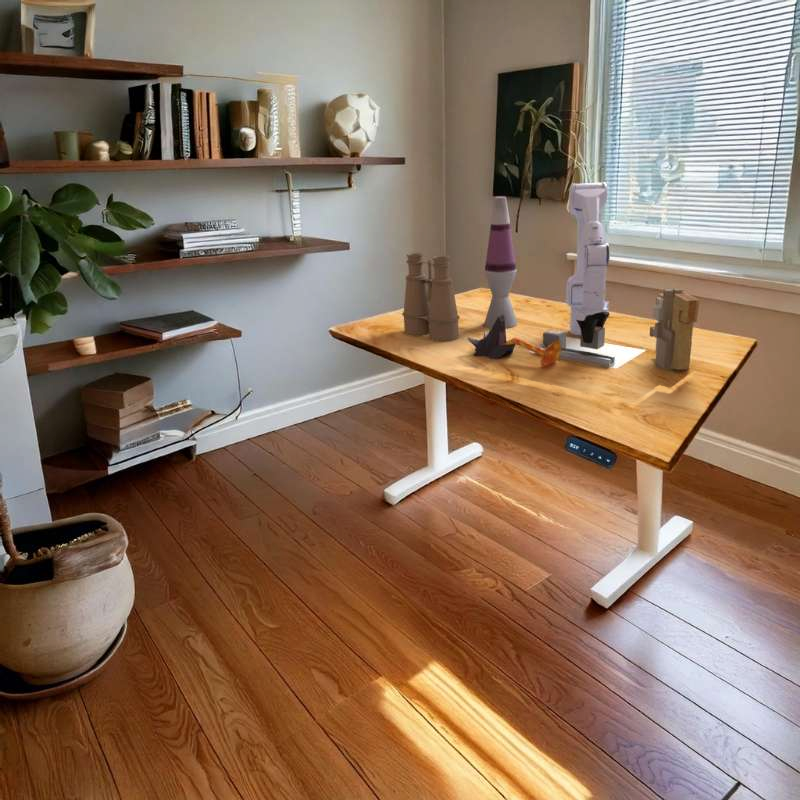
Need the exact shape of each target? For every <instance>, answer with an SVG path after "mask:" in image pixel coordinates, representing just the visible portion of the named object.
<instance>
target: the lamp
mask: <svg viewBox="0 0 800 800" xmlns="http://www.w3.org/2000/svg"><path fill="white" fill-rule="evenodd" d="M493 200H494V201H493V204H492V205H493V206H492V213H491V219H490V230H489V237H488V244H487V250H486V258H485V266H484V270H483V273H484V275H485V278H486V281H487V284H488V287H489V290H490V292H491V293H490V294H491V296H492V297H491V300H490V304H489V306H488V310H487V313H486V317H485V319H484V322H483V325H484V327H487V328H490V329H491V328H492V326H493V325H494V323H495V321H496V320H497V318H498V317H499V316H502V315H504V317H505V328H506V329H510V328H509V327H511V328H513V326H514V327H516V326H517V325H518V321H517V318H516V314H515V312H514V308H513V305H512V303H511V300H510V296H509V295H510V293H511V289H512V286H513V282H514V280H515V278H516V275H517V271H518V270H517V265H516V259H515V252H514V251H515V250H514V246H513V237H512V231H511V220H510V215H509V214H510V213H509V207H508V201H507V197H506V196H495V197H494V199H493ZM515 325H516V326H515Z"/></svg>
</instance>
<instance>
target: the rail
mask: <svg viewBox="0 0 800 800" xmlns="http://www.w3.org/2000/svg"><path fill="white" fill-rule="evenodd" d="M537 346H538V347H541V348H543V349H546V348H547V347H548V345H547V344H543V343H539V345H537ZM562 358H563V359H564V360H568V359H569V361H573V360H574V362H578V361H579V362H578V363H583V362H584V363H585V364H589V363H590V364H589V365H594V364H595V366H599V365H600V366H599V367H604V366H605V367H606V368H610V366H612V365H614V364H615V357H614V356H608V355H603V354H597V353H591V352H586V351H580V350H575V349H569V348H563V347H561V353H560V355H559V357H558V359H562Z"/></svg>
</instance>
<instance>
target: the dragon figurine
mask: <svg viewBox="0 0 800 800" xmlns="http://www.w3.org/2000/svg"><path fill="white" fill-rule="evenodd" d="M506 329H507V328H505V317H504V315H502V316H499V317H498V318H497V320H496V321H495V323H494V325H493V326H492V328H490V330H489V332H488V333H487V331H486V330H485V331H483V337H482V338H481V339H479V340H478V339H476V338H475V339H474V338H471V337H467V338H466V340H467V341H469V343H471V344H472V345H473V346H474V347H475V348H474V351H475V353H474V354H473V357H485V358H488V359H491V360H497V359H499V358H500V357H501V356H503V355H504V354H506V353H513V352H514V349H515V347H516V346H518V347H520V348H521V347H522V348H523V349H526V350H528V351H529V352H530V351H532V352H535V353H534V354H536V353H537V354H538V355H540V356H541V358H540V364H541V365H540V366H541V368H544V367H546V366H547V365H551V364H556V363H557V361H558V359H559V358H558V357H559V355H560V353H561V343H560V340H558V341H556V342H553V343H551V344H549V345H548V347H547V348H546V349H543V348H541V347H538V346H539V345H535V344H533V343H531V342H528V341H526V340H524V339H521V338H518V337H516V336H515V337H513V338H511V339H509V340H507V332H506ZM537 354H536V355H537Z"/></svg>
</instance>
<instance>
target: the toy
mask: <svg viewBox="0 0 800 800" xmlns="http://www.w3.org/2000/svg"><path fill="white" fill-rule="evenodd" d="M683 291H684V290H683V289H682V288H672V289H671V288H666V289H663V291H662V292H663V293H658V295H657V297H656V296H655V305H653V311H652V318H653V319H655V320H657V322H656V323H654V326H650V327H649V337H652V338H653V337H654V338H656V339H655V350H654V352H655V353H656V354H655V358H650V360H651V361H652V362H653V363H654V364H656V365H657V366H658V367H659V368H661V369H662V370H663V371H664V370H665V371H666V370H667V371H668V370H688V369H690V363H691V362H690V361H691V353H692V343H693V341H692V340H693V331H694V330H693V329H694V323H698V315H699V307H700V300H699V299H698V298H696V297H694V296H693V295H690V294H689V293H687V292H686V293H684V292H683Z"/></svg>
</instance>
